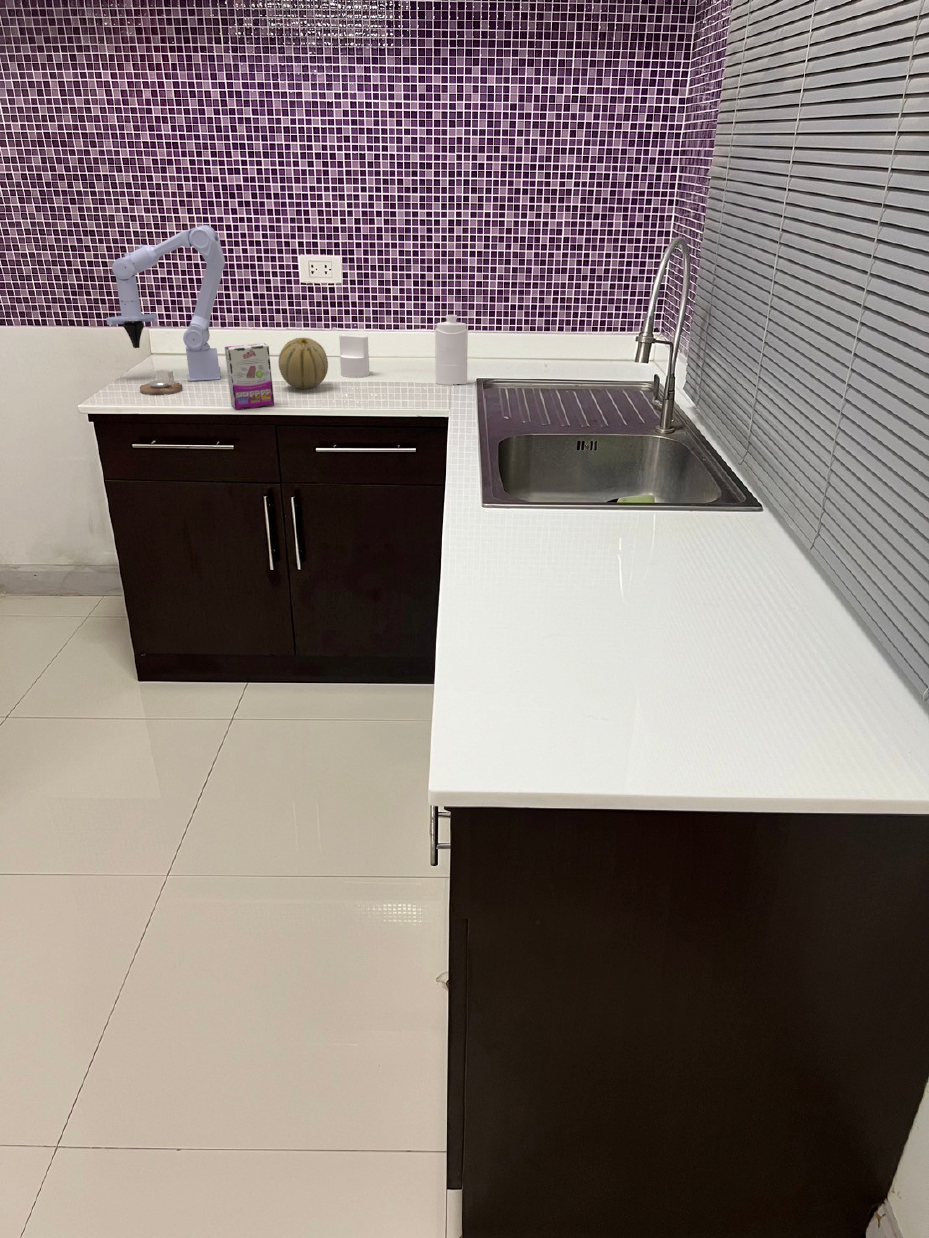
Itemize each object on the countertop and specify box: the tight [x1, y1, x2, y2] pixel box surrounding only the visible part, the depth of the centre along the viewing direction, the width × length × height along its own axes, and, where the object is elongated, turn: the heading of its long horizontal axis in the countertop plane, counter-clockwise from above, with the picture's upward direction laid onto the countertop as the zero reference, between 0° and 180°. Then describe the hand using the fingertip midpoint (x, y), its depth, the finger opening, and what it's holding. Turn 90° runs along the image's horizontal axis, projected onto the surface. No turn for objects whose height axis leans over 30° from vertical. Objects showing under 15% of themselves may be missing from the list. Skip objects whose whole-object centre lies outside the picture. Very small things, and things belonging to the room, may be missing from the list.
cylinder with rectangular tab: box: [339, 333, 371, 379], centre depth 292 cm, size 9×9×12 cm
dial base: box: [139, 381, 184, 396], centre depth 273 cm, size 12×12×1 cm
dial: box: [149, 369, 175, 388], centre depth 271 cm, size 8×6×4 cm
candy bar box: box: [224, 342, 275, 411], centre depth 254 cm, size 11×5×16 cm, turn 117°
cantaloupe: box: [278, 337, 329, 390], centre depth 274 cm, size 15×15×15 cm
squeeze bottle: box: [434, 314, 469, 386], centre depth 280 cm, size 10×20×5 cm
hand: (136, 347), depth 283 cm, fingers closed
